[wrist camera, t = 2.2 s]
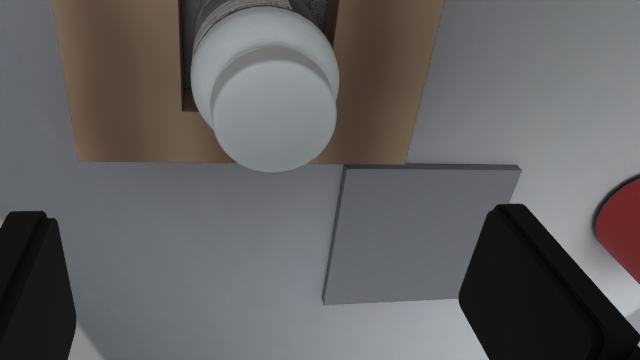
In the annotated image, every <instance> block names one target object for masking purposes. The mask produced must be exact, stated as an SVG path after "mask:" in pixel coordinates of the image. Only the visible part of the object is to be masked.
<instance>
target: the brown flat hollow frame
mask: <svg viewBox="0 0 640 360" xmlns="http://www.w3.org/2000/svg"><path fill="white" fill-rule="evenodd" d="M444 2H445V0H327V4H326V12H325V20H324V29H323V33H324V35H325V36H326V38H327V39H328V40H329V42H330V44H331V46H332V49H333V52H334V54H335V57H336V61H337V64H338V69H339V90H338V95H337V99H336V108H337V119H336V125H335V129H334V132H333V135H332V137H331V139H330V141H329V142H328V144H327V145H326V147H325V148H324V150H323V151H322V152H321V153H320V154H319V155H318V156H316V157H315V158H314V159H312V160H311V161H310V162H308V163H307V164H397V165H405V162H406V158H407V154H408V149H409V145H410V141H411V137H412V133H413V129H414V125H415V121H416V117H417V113H418V109H419V105H420V100H421V96H422V92H423V88H424V84H425V80H426V76H427V72H428V68H429V64H430V60H431V55H432V51H433V47H434V43H435V39H436V35H437V31H438V27H439V23H440V19H441V15H442V11H443V6H444ZM52 6H53V12H54V18H55V24H56V30H57V36H58V42H59V48H60V54H61V60H62V66H63V72H64V78H65V84H66V90H67V96H68V102H69V108H70V114H71V120H72V126H73V132H74V138H75V144H76V150H77V156H78V161H101V162H200V163H237V162H236V161H234V160H233V159H232V158H231V157H230V156H229V155H228V154H227V153H226V152H225V151H224V150H223V149H222V147H221V146H220V144H219V142H218V140H217V138H216V136H215V133H214V130H213V129H212V128H211V127H210V126H209V125H208V124H207V123H206V121H205V120H204V119H203V117H202V116H201V114H200V112H199V110H198V108H197V106H196V103H195V101H194V97H193V93H192V89H184V61H183V28H182V0H52Z"/></svg>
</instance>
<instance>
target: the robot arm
mask: <svg viewBox="0 0 640 360" xmlns="http://www.w3.org/2000/svg"><path fill="white" fill-rule="evenodd" d="M458 298H459V304H460V307H461V309H462V311H463V313H464V314H465V316H466V318H467V320H468V322H469V324H470V325H471V327H472V329H473V331H474V333H475V334H476V336H477V338H478V340H479V342H480V344H481V345H482V347H483V349H484V351H485V353H486V354H487V356H488V358H489V360H640V348H639V347H638V345H637V344H638V343H639V341H640V334H639V333H638V332H637V331H636V330H635V329H634V328H633V327H632V325H631V324H630V323H629V322H628V321H627V320H626V319H625V318H624V316H623V315H622V314H621V313H620V312H619V311H618V310H617V309H616V307H615V306H614V305H613V304H612V303H611V302H610V301H609V300H608V298H607V297H606V296H605V295H604V294H603V293H602V292H601V290H600V289H599V288H598V287H597V286H596V285H595V284H594V283H593V281H592V280H591V279H590V278H589V277H588V276H587V275H586V274H585V272H584V271H583V270H582V269H581V268H580V267H579V266H578V265H577V263H576V262H575V261H574V260H573V259H572V258H571V257H570V256H569V254H568V253H567V252H566V251H565V250H564V249H563V248H562V247H561V245H560V244H559V243H558V242H557V241H556V240H555V239H554V237H553V236H552V235H551V234H550V233H549V232H548V231H547V230H546V228H545V227H544V226H543V225H542V224H541V223H540V222H539V221H538V219H537V218H536V217H535V216H534V215H533V214H532V213H531V212H530V210H529V209H528V208H527V207H526V206H525V205H523V204H498V205H496V206H495V207H494V209H493V210H491V211H489V212H488V214H487V216H486V218H485V221H484V224H483V227H482V229H481V232H480V235H479V238H478V241H477V243H476V246H475V249H474V252H473V254H472V257H471V260H470V263H469V266H468V268H467V271H466V274H465V277H464V280H463V282H462V285H461V288H460V291H459V297H458ZM75 329H76V311H75V306H74V302H73V297H72V292H71V287H70V282H69V277H68V272H67V267H66V262H65V257H64V252H63V247H62V242H61V237H60V232H59V227H58V223H57V220H56V219H55V218H47V215H46V214H45V212H43V211H14V212H10V213H9V214H8V215H7V217H6V219H5V221H4V223H3V224H2V226H1V228H0V360H68V356H69V352H70V349H71V345H72V341H73V338H74V334H75Z"/></svg>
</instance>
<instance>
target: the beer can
mask: <svg viewBox="0 0 640 360" xmlns="http://www.w3.org/2000/svg"><path fill="white" fill-rule="evenodd" d="M595 231H596V235H597V239H598V241H599V242H600V243H601V244H602V245H603V246H604V247H605V249H606V250H607V251H608V252H609V253H610V254H611V255H612V256H613V257H614V258H615V259H616V260H617V261H618V262H619V263H620V264H621V265H622V266H623V267H624V269H625V270H626V271H627V272H628V273H629V274H630V275H631V276H632V277H633V278H634V279H635V280H636V281H637V282H638V283H639V284H640V178H638V179H636V180H634V181H632V182H630V183H628V184H626V185H624V186H623V187H622V188H620V189H619V190H618V191H616V192H615V193H614V194H613V195H612V196H611V197H610V198H609V199H608V200H607V202H606V203H605V204H604V205H603V207H602V209H601V210H600V212H599V214H598V216H597V221H596V226H595Z"/></svg>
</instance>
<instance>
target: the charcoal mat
mask: <svg viewBox="0 0 640 360" xmlns="http://www.w3.org/2000/svg"><path fill="white" fill-rule="evenodd" d="M521 171H522V170H521V169H520V168H519V167H518V166H517V165H459V164H405V165H397V164H345V166H344V172H343V177H342V183H341V189H340V195H339V201H338V207H337V213H336V219H335V225H334V231H333V237H332V243H331V248H330V254H329V260H328V266H327V272H326V278H325V284H324V290H323V296H322V301H323V305H335V304H356V303H376V302H397V301H417V300H437V299H458V297H459V291H460V288H461V285H462V282H463V280H464V277H465V274H466V271H467V268H468V266H469V263H470V260H471V257H472V254H473V252H474V249H475V246H476V243H477V241H478V238H479V235H480V232H481V229H482V227H483V224H484V221H485V218H486V216H487V214H488V212H489V211H491V210H493V209H494V207H495V206H496V205H498V204H509V201H510V199H511V196H512V194H513V191H514V189H515V186H516V184H517V181H518V179H519V176H520V173H521Z"/></svg>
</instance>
